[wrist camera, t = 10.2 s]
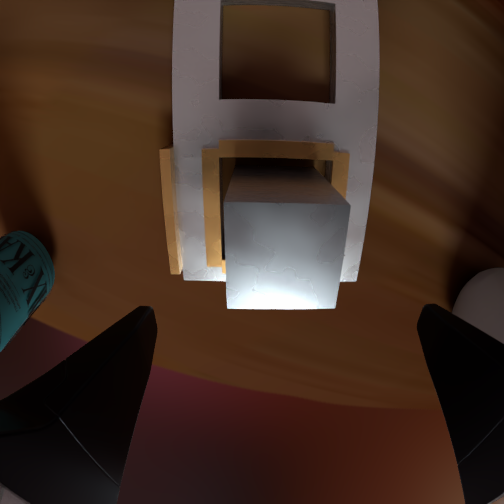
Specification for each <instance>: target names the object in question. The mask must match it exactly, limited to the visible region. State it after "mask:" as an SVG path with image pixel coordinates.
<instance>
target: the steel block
mask: <svg viewBox="0 0 504 504" xmlns="http://www.w3.org/2000/svg"><path fill="white" fill-rule="evenodd" d="M350 208H351V205H350V204H349V203H348V202H347V201H346V200H345V199H344V197H343V196H342V195H341V194H340V193H339V192H338V191H337V190H336V189H335V188H334V187H333V186H332V185H331V184H330V183H329V182H328V181H327V180H326V179H325V178H324V177H323V176H322V175H321V174H320V173H319V172H318V171H317V170H316V169H315V168H314V167H297V166H262V165H235V168H234V171H233V174H232V178H231V181H230V184H229V187H228V190H227V193H226V197H225V200H224V234H225V265H226V291H227V309H326V308H335V304H336V299H337V294H338V288H339V283H340V277H341V271H342V265H343V259H344V252H345V246H346V239H347V232H348V224H349V217H350Z"/></svg>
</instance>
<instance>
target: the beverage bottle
mask: <svg viewBox="0 0 504 504" xmlns="http://www.w3.org/2000/svg"><path fill="white" fill-rule="evenodd" d="M5 235H6V234H5ZM54 278H55V273H54V267H53V263H52V260H51V258H50V255H49V253H48V252H47V250H46V248H45V247H44V246H43V244H42V243H41V242H40V241H39V240H38V239H37V238H36V237H34V236H33V235H31V234H30V233H27V232H25V231H11V233H9V234H8V235H6V236H1V237H0V352H1V350H2V349H3V348H4V347H5V345H6V344H7V343H8V341H9V340H10V339H11V337H12V336H13V335H16V334H15V332H17V330H18V329H19V327H20V326H21V325H22V324H23V322H24V321H25V320H26V319H27V318H28V317H29V315H30V314H31V313H32V312H33V311H34V310H35V309H36V310H37V308H38V307H39V306H40V304H41V303H42V302H44V300H45V299H44V298H46V296H47V294H48V293H50V290H51V288H52V286H53V283H54ZM51 291H52V290H51ZM43 299H44V300H43ZM41 301H42V302H41ZM36 310H35V311H36ZM35 311H34V312H35ZM34 312H33V313H34ZM33 313H32V314H33ZM32 314H31V316H32ZM31 316H30V317H31ZM28 319H29V318H28ZM28 319H27V320H28ZM25 323H26V322H25ZM25 323H24V324H25ZM24 324H23V325H24ZM23 325H22V326H23ZM22 326H21V327H22ZM17 333H18V332H17ZM10 342H11V341H10Z"/></svg>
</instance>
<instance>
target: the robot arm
mask: <svg viewBox="0 0 504 504" xmlns="http://www.w3.org/2000/svg"><path fill="white" fill-rule="evenodd" d="M417 331H418V335H419V338H420V342H421V345H422V349H423V353H424V356H425V360H426V364H427V367H428V370H429V372H430V375H431V378H432V381H433V384H434V387H435V389H436V392H437V395H438V398H439V401H440V404H441V408H442V411H443V414H444V417H445V420H446V424H447V427H448V431H449V434H450V438H451V441H452V445H453V449H454V453H455V457H456V461H457V464H458V470H459V474H460V479H461V484H462V488H463V494H464V499H465V504H491V503H493V502H495V501H497V500H498V499H500V498H502V497H503V496H504V344H503V343H502V342H500V341H498V340H497V339H495V338H493V337H492V336H490V335H488V334H487V333H485V332H483V331H482V330H480V329H478V328H477V327H475V326H473V325H471V324H470V323H468V322H466V321H465V320H463V319H461V318H459V317H458V316H456V315H454V314H452V313H451V312H449V311H447V310H445V309H444V308H442V307H440V306H438V305H437V304H426V305H424V307H423V309H422V312H421V314H420V317H419V320H418V323H417ZM156 337H157V324H156V319H155V314H154V310H153V308H152V307H151V306H139V307H137V308H136V309H135V310H133V311H132V312H130V313H129V314H127V315H126V316H125V317H123V318H122V319H120V320H119V321H118V322H116V323H115V324H113V325H112V326H111V327H109V328H108V329H106V330H105V331H104V332H102V333H101V334H99V335H98V336H97V337H95V338H94V339H92V340H91V341H90V342H88V343H87V344H85V345H84V346H83V347H81V348H80V349H79V350H77V351H76V352H74V353H73V354H72V355H70V356H69V357H68V358H66V360H63V361H62V362H61V363H59V364H58V365H57V366H55V367H54V368H52V369H51V370H49V371H48V372H47V373H45V374H44V375H42V376H40V377H39V378H37V379H36V380H34V381H32V382H31V383H29V384H27V385H26V386H24V387H23V388H21V389H19V390H18V391H16V392H14V393H13V394H11V395H9V396H8V397H6V398H4V399H2V400H0V504H117V499H118V494H119V490H120V484H121V480H122V476H123V472H124V467H125V463H126V459H127V455H128V451H129V447H130V443H131V440H132V436H133V432H134V428H135V424H136V421H137V417H138V413H139V410H140V406H141V402H142V399H143V396H144V392H145V389H146V385H147V382H148V379H149V375H150V370H151V365H152V359H153V354H154V348H155V343H156Z"/></svg>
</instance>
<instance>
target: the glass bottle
mask: <svg viewBox="0 0 504 504" xmlns="http://www.w3.org/2000/svg"><path fill="white" fill-rule="evenodd" d="M452 314H454V315H456V316H458V317H459V318H461V319H463V320H465V321H466V322H468V323H470V324H471V325H473V326H475V327H477V328H478V329H480V330H482V331H483V332H485V333H487V334H488V335H490V336H492V337H493V338H495V339H497V340H498V341H500V342H502V343H503V344H504V268H491V269H487V270H484V271H482V272H479V273H478V274H477V275H475V276H474V277H473V278H472V279H471V280H469V281H468V282H467V284H466V285H465V286H464V287H463V289H462V290H461V291H460V293H459V295H458V297H457V300H456V302H455V305H454V307H453V310H452Z"/></svg>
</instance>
